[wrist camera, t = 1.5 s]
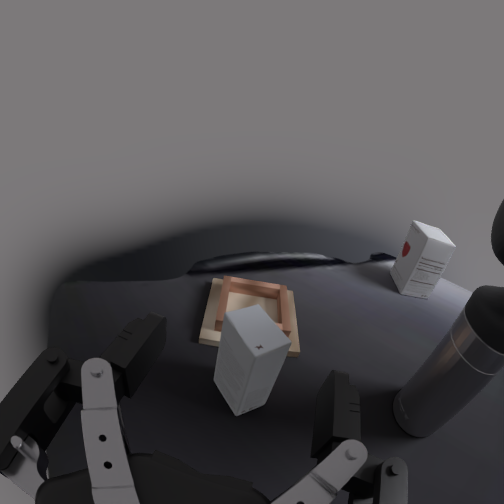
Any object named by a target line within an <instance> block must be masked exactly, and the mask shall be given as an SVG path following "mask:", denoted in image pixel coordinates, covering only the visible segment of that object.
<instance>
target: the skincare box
mask: <svg viewBox="0 0 504 504" xmlns="http://www.w3.org/2000/svg"><path fill="white" fill-rule="evenodd" d="M291 343H292V342H291V340H290V339H289V338H288V337H287V336H286V335H285V334H284V333H283V331H282V330H281V329H280V328H279V327H278V326H277V325H276V324H275V322H274V321H273V320H272V319H271V318H270V317H269V316H268V314H267V313H266V312H265V311H264V310H263V309H262V307H261V306H260V305H259V304H257V305H253V306H250V307H246V308H242V309H238V310H234V311H229V312H225V313H224V318H223V324H222V330H221V336H220V343H219V349H218V355H217V361H216V367H215V373H214V382H215V384H216V385H217V387H218V389H219V390H220V392H221V394H222V395H223V397H224V398H225V400H226V402H227V403H228V405H229V406H230V408H231V410H232V411H233V413H234V414H235V416H239V415H241V414H243V413H246V412H248V411H251V410H253V409H255V408H258V407H260V406H262V405H264V404H265V403H266V401H267V399H268V397H269V394H270V392H271V390H272V388H273V385H274V383H275V381H276V379H277V377H278V374H279V372H280V370H281V367H282V365H283V363H284V360H285V358H286V356H287V353H288V351H289V348H290V346H291Z"/></svg>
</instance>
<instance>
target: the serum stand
mask: <svg viewBox="0 0 504 504" xmlns="http://www.w3.org/2000/svg"><path fill="white" fill-rule="evenodd" d="M257 304H259V305H260V306H261V307H262V309H263V310H264V311H265V312H266V313H267V314H268V316H269V317H270V318H271V319H272V320H273V321H274V322H275V324H276V325H277V326H278V327H279V328H280V329H281V330H282V331H283V333H284V334H285V335H286V336H287V337H288V338H289V339H290V340H291V342H292V343H291V346H290V348H289V351H288V353H287V356H289V357H298V355H299V353H300V347H299V339H298V330H297V322H296V313H295V305H294V298H293V291H288V290H287V286H284V285H277V284H271V283H265V282H259V281H253V280H247V279H241V278H235V277H230V276H224V279H223V280H222V279H216V278H213V282H212V286H211V290H210V294H209V298H208V303H207V307H206V311H205V315H204V319H203V324H202V328H201V332H200V337H199V343H200V344H205V345H211V346H217V347H219V343H220V336H221V330H222V324H223V318H224V313H225V312H229V311H234V310H238V309H242V308H246V307H250V306H253V305H257Z"/></svg>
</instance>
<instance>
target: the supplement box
mask: <svg viewBox="0 0 504 504" xmlns="http://www.w3.org/2000/svg"><path fill="white" fill-rule="evenodd" d="M455 248H456V246H455V245H454V244H453V243H452V242H451V240H450V239H449V238H448V237H447V236H446V235H445V234H444V233H443V232H442V231H441V230H440V229H438V228H435V227H432V226H429V225H426V224H423V223H421V222H418V221H414V220H413V221H412V224H411V226H410V229H409V231H408V234H407V236H406V238H405V241H404V243H403V246H402V248H401V250H400V252H399V254H398V257H397V259H396V261H395V263H394V265H393V267H392V270H391V272H390V274H391V276H392V278H393V280H394V282H395V284H396V286H397V288H398V290H399V292H400V294H402V295H407V296H413V297H418V298H424V299H428V298H429V296H430V295H431V293H432V291H433V289H434V288H435V286H436V284H437V282H438V280H439V279H440V277H441V275H442V273H443V271H444V269H445V267H446V265H447V264H448V262H449V260H450V257H451V256H452V254H453V251H454V250H455Z"/></svg>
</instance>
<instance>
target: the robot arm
mask: <svg viewBox="0 0 504 504" xmlns="http://www.w3.org/2000/svg"><path fill="white" fill-rule="evenodd" d="M491 242H492V249H493V251H494V253H495V256H496V257H497V258H498V260H499V261H500V262H501V263H502V264H503V265H504V200H503V201H502V203H501V205H500V207H499V209H498V211H497V214H496V216H495V219H494V222H493V226H492V233H491ZM165 342H166V317H163V316H161V315H158V314H156V313H153V312H150V313H149V314H148V315H147V317H146V318H145V319H144V320H142V319H140V318H137V319H135V320H133V321H132V322H130V323H129V324H128V325H127V326H126V327H125V328H124V329H123V331H122V332H121V333H120V334H119V335H118V337H116V339H115V340H114V341H113V342H112V343H111V344H110V346H109V347H108V348H107V349H106V350H105V351H104V353H103V354H102V355H101V356H100V357H99V358H92V359H89V360H87V361H86V362H82V361H77V360H73V359H69V358H67V356H66V354H65V352H64V351H63V350H62V349H60V348H56V347H51V348H48V349H46V350H44V351H43V352H42V353H41V354H40V355H39V357H38V358H37V359H36V360H35V361H34V362H33V363H32V365H31V366H30V367H29V368H28V370H27V371H26V372H25V373H24V374H23V376H22V377H21V378H20V379H19V380H18V381H17V383H16V384H15V385H14V387H13V388H12V389H11V390H10V392H9V393H8V394H7V395H6V397H5V398H4V399H3V401H2V402H1V403H0V473H1V474H2V475H4V476H5V477H7V478H9V479H10V480H11V481H12V482H13V483H15V484H16V485H17V486H18V487H19V488H21V489H22V490H23V491H24V492H26V493H27V494H28V495H30V496H31V497H32V498H34V499H35V504H329V503H330V502H331V501H332V500H333V499H334V498H335V497H336V496H337V492H338V491H339V490H340V489H342V490H345V491H347V492H349V499H348V504H407V497H408V468H407V465H406V463H405V462H404V461H403V460H402V459H400V458H398V457H391V458H388V459H387V460H382V459H380V458H377V457H375V456H372V455H370V454H369V453H368V452H367V449H366V447H365V446H364V445H363V444H362V443H361V421H360V406H359V405H360V396H359V393H358V391H357V389H356V387H355V386H354V385H349V374H348V373H345V372H340V371H336V370H332V371H331V373H330V374H329V376H328V377H327V379H326V380H325V382H324V384H323V385H322V387H321V388H320V390H319V392H318V396H317V401H316V412H315V422H314V431H313V440H312V449H311V457H310V458H317V459H318V460H317V465H316V466H315V467H314V468H312V469H311V470H310V471H309V472H308V473H307V474H305V475H304V476H303V477H302V478H301V479H299V480H298V481H297V482H296V483H294V484H293V485H292V486H291V487H289V488H288V489H287V490H285V491H284V492H283V493H281V494H280V495H278V496H277V497H276V498H274V499H273V500H272V501H269V499H267V498H266V497H265V496H264V495H263V494H262V493H261V492H259V491H258V490H256V489H254V488H252V484H253V482H249V481H245V480H241V479H237V478H234V477H230V476H220V475H209V474H202V473H199V472H197V471H196V470H194V469H193V468H191V467H189V466H188V465H186V464H185V463H183V462H182V461H180V460H179V459H176V458H174V457H171V456H169V455H166V454H164V453H162V452H159V451H157V450H155V451H154V453H153V454H148V453H134V454H132V453H131V449H130V446H129V442H128V439H127V435H126V430H125V426H124V421H123V416H122V411H121V405H120V400H121V399H122V397H123V396H126V397H128V398H130V399H131V397H132V396H133V394H134V393H135V391H136V390H137V388H138V387H139V385H140V384H141V382H142V381H143V379H144V378H145V376H146V375H147V373H148V372H149V370H150V368H151V367H152V365H153V364H154V362H155V361H156V359H157V358H158V356H159V355H160V353H161V352H162V350H163V348H164V346H165ZM503 367H504V287H496V286H481V287H479V288H477V289H476V290H475V291H474V292H473V294H472V295H471V297H470V299H469V300H468V302H467V303H466V305H465V307H464V308H463V310H462V311H461V313H460V314H459V316H458V317H457V319H456V320H455V322H454V323H453V325H452V326H451V328H450V329H449V331H448V332H447V333H446V335H445V336H444V338H443V339H442V340H441V342H440V343H439V344H438V346H437V347H436V348H435V350H434V351H433V352H432V354H431V355H430V356H429V357H428V359H427V360H426V361H425V362H424V364H423V365H422V366H421V367H420V368H419V370H418V371H417V372H416V373H415V374H414V376H413V377H412V378H411V379H410V380H409V381H408V382H407V384H406V385H405V386H404V387H403V388H402V389H401V390H400V391H399V392H398V393H397V395H396V396H395V398H394V402H393V412H394V416H395V419H396V421H397V422H398V424H399V425H400V427H401V428H402V429H403V430H404V431H406V432H407V433H408V434H410V435H412V436H416V437H426V436H429V435H431V434H433V433H434V432H435V431H437V430H438V429H439V428H440V427H442V426H443V425H444V424H445V423H447V422H448V421H449V420H450V419H451V418H453V417H454V416H455V415H456V414H457V413H458V412H459V411H461V410H462V409H463V408H464V407H465V406H466V405H467V404H468V403H469V402H470V401H471V400H472V399H473V398H474V397H475V396H477V395H478V394H479V393H480V392H481V391H482V389H483V388H484V387H485V386H486V385H487V384H488V383H489V382H490V381H491V380H492V379H493V378H494V377H495V376H496V375H497V374H498V372H499V371H500V370H501V369H502V368H503ZM76 402H77V403H81V404H83V409H82V410H81V420H82V430H83V438H84V445H85V451H86V457H87V463H88V468H86V469H83V470H79V471H76V472H72V473H69V474H65V475H61V476H57V477H53V478H50V479H47V475H46V470H47V467H48V463H49V460H48V456H47V454H46V452H45V451H46V449H47V447H48V446H49V444H50V442H51V441H52V439H53V438H54V436H55V434H56V433H57V431H58V430H59V428H60V426H61V425H62V423H63V422H64V420H65V419H66V417H67V416H68V414H69V413H70V411H71V409H72V408H73V406H74V405H75V403H76Z"/></svg>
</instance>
